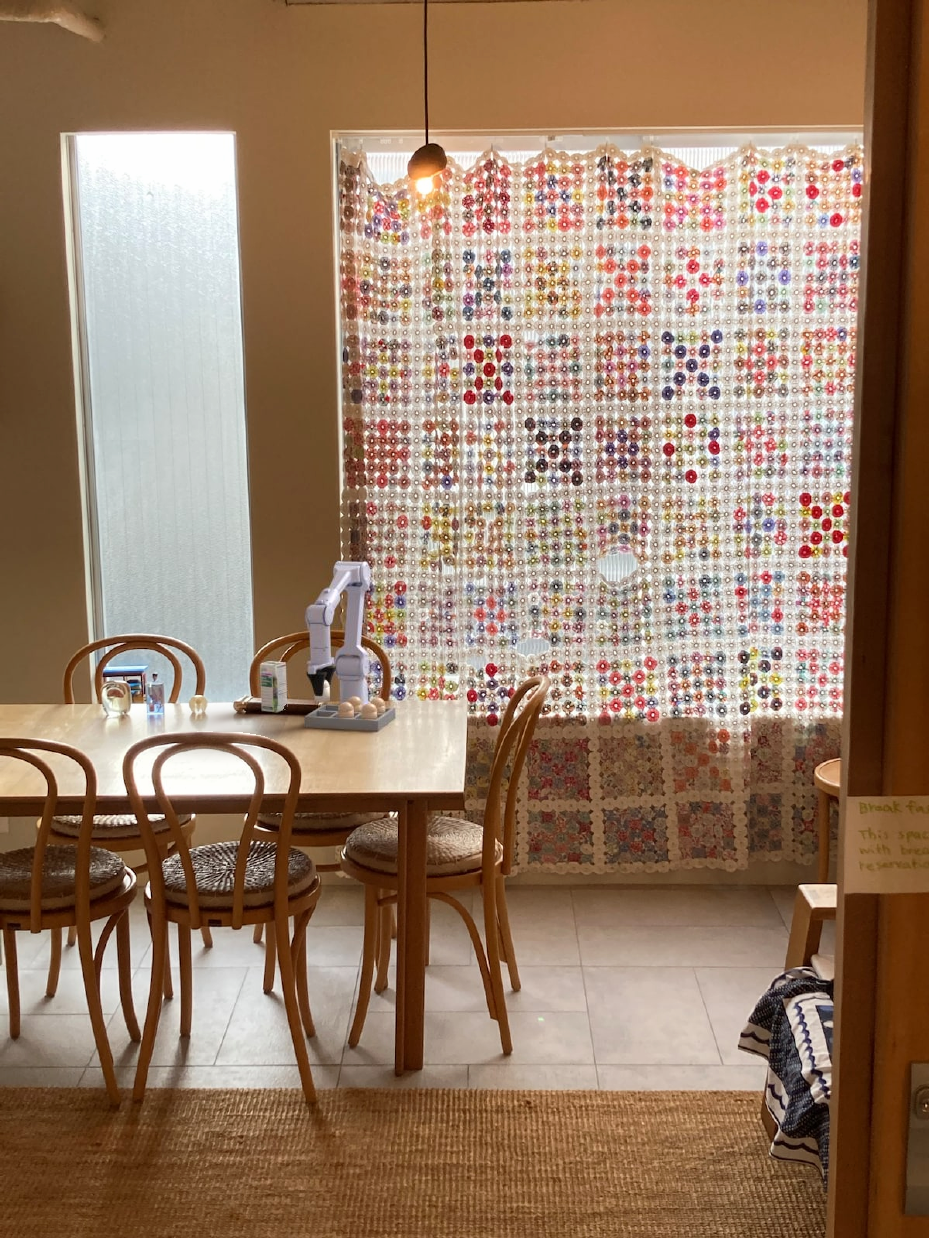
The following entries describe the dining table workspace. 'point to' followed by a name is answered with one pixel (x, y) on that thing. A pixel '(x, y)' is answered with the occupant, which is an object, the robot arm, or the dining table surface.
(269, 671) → the syrup box
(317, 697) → the white egg
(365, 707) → the egg carton
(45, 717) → the dining table surface
